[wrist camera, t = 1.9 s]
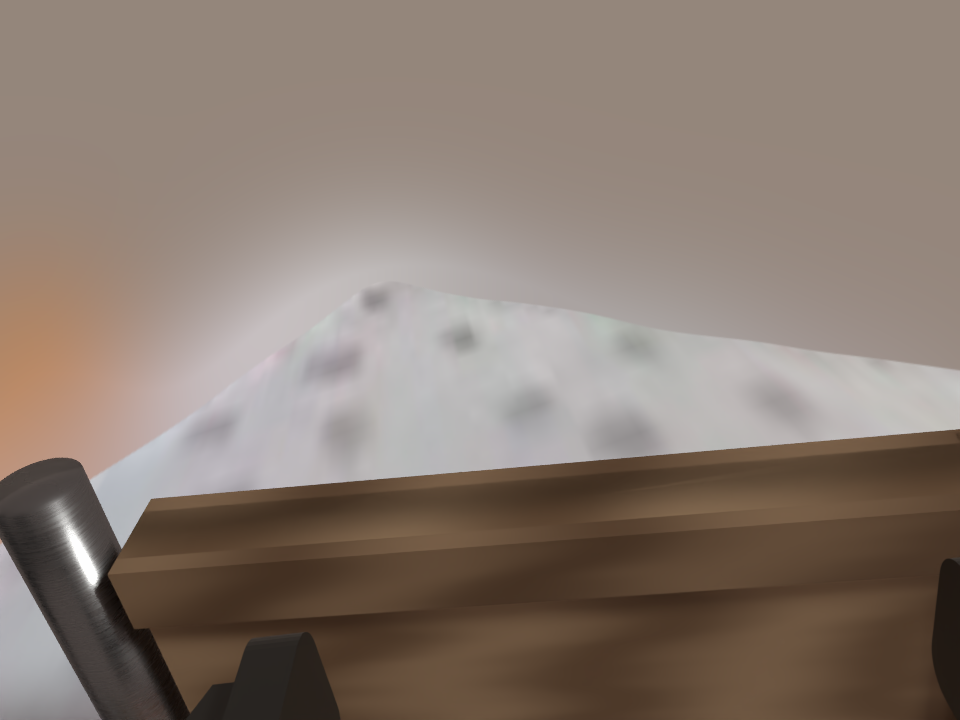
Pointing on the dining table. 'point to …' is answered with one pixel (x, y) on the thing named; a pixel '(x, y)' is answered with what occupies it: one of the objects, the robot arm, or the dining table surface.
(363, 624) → the gate
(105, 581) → the gate frame
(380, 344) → the dining table surface
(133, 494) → the dining table surface
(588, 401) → the dining table surface
